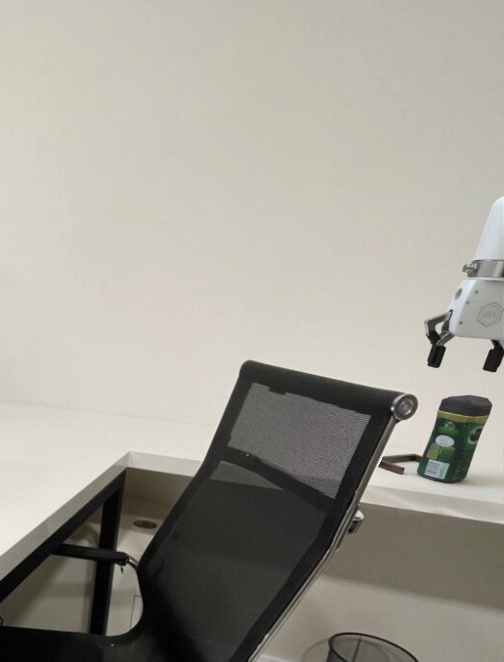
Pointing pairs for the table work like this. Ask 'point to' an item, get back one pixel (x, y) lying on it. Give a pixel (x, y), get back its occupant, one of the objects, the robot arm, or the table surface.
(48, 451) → the table surface
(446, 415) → the coffee jar
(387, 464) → the walnut bay
